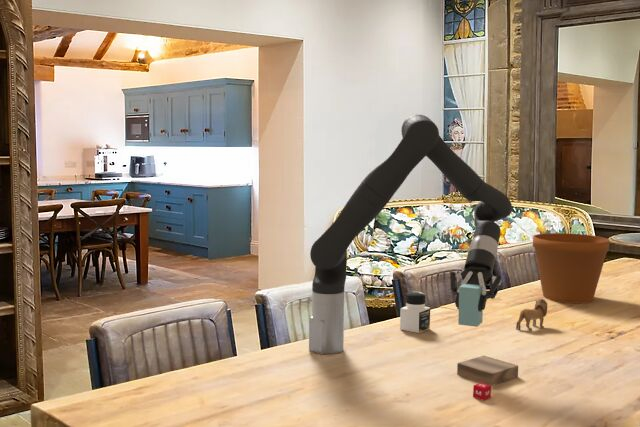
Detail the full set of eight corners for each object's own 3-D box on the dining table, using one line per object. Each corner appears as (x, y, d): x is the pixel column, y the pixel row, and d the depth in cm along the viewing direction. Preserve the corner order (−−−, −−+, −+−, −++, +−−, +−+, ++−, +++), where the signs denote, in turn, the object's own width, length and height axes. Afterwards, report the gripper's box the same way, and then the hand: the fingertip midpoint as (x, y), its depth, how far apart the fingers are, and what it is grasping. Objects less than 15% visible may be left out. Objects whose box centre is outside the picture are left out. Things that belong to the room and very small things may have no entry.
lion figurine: (536, 322, 245) (537, 296, 245) (550, 325, 242) (551, 299, 241) (511, 330, 236) (513, 302, 235) (526, 333, 232) (527, 305, 231)
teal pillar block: (477, 326, 188) (478, 288, 187) (458, 324, 190) (459, 286, 189) (482, 322, 192) (483, 284, 191) (463, 320, 195) (464, 283, 193)
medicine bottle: (419, 333, 230) (420, 296, 229) (399, 329, 234) (400, 293, 233) (430, 329, 236) (431, 292, 234) (410, 325, 240) (411, 289, 239)
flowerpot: (516, 292, 294) (519, 234, 291) (575, 288, 302) (578, 232, 300) (559, 307, 267) (562, 244, 265) (622, 303, 276) (626, 242, 273)
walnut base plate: (491, 385, 182) (492, 373, 182) (457, 374, 191) (457, 363, 190) (517, 376, 189) (518, 365, 189) (483, 366, 198) (483, 355, 197)
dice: (472, 397, 174) (473, 385, 174) (480, 394, 176) (480, 382, 176) (483, 400, 172) (484, 388, 172) (490, 397, 174) (491, 385, 174)
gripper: (510, 265, 198) (498, 319, 188) (458, 261, 204) (444, 313, 195) (506, 249, 192) (494, 303, 183) (453, 245, 199) (439, 298, 190)
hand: (468, 308), depth 189 cm, fingers closed on teal pillar block, 5 cm apart
